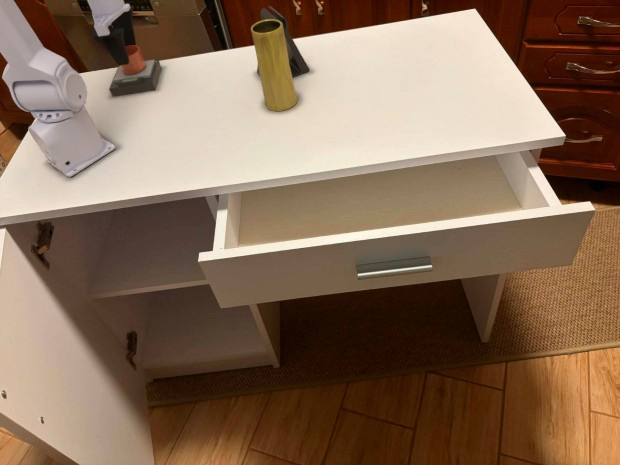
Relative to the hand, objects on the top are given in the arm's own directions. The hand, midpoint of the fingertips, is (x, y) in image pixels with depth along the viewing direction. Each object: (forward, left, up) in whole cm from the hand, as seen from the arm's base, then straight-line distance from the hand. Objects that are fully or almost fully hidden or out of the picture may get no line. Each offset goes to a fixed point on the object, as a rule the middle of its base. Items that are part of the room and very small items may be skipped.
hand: (127, 54), depth 97 cm
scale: (0, 0, -6) cm, 6 cm away
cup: (0, 0, -3) cm, 3 cm away
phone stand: (+18, -26, -6) cm, 32 cm away
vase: (+10, -33, -6) cm, 35 cm away
